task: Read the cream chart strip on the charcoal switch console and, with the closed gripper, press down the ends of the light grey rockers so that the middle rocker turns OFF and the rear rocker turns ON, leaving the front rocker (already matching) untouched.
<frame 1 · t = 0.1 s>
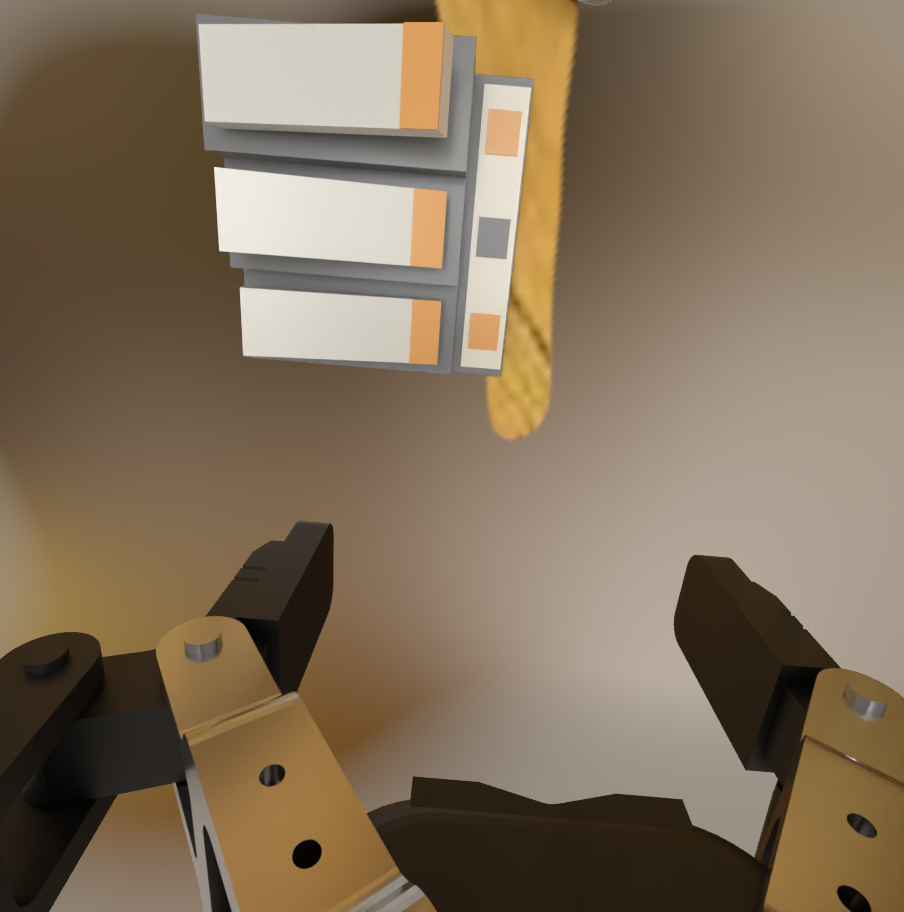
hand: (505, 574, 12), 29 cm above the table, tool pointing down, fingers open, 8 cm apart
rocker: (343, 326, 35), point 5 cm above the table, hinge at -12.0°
middle rocker: (335, 221, 30), point 7 cm above the table, hinge at -12.0°
switch console: (359, 227, 37), on the table
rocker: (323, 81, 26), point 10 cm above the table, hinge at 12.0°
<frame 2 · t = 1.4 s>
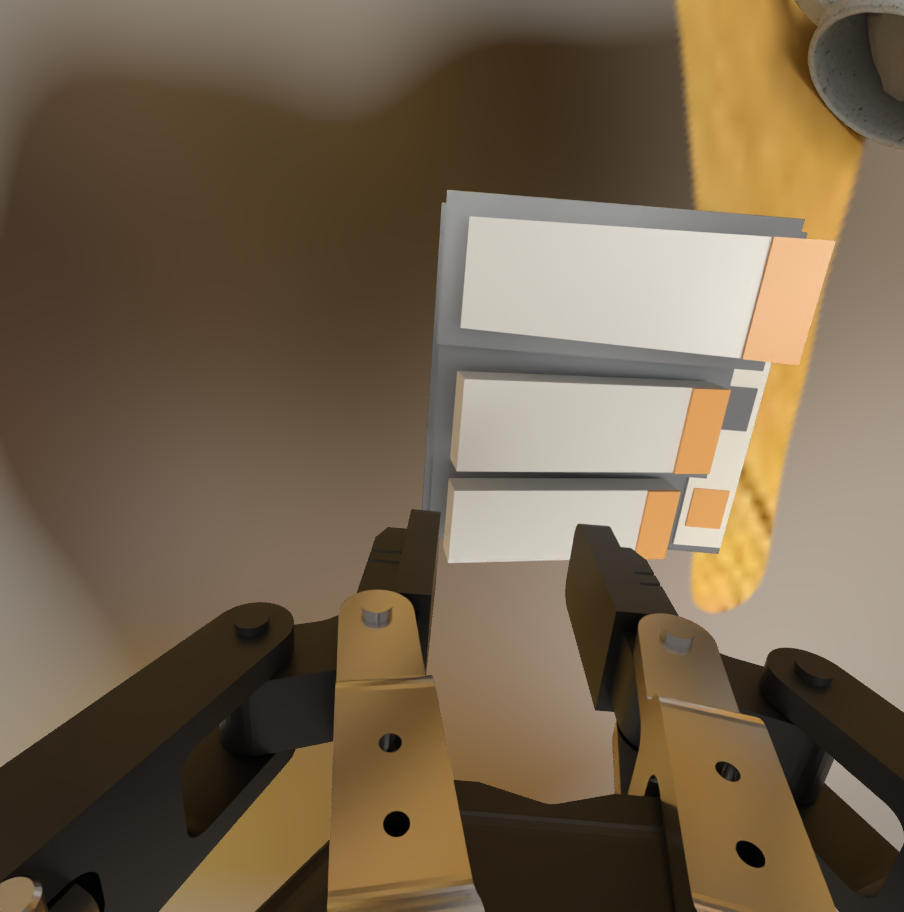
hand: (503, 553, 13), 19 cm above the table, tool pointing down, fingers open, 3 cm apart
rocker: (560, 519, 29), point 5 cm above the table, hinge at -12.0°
middle rocker: (588, 424, 25), point 7 cm above the table, hinge at -12.0°
switch console: (563, 388, 31), on the table
ceramic mug: (872, 19, 25), on the table
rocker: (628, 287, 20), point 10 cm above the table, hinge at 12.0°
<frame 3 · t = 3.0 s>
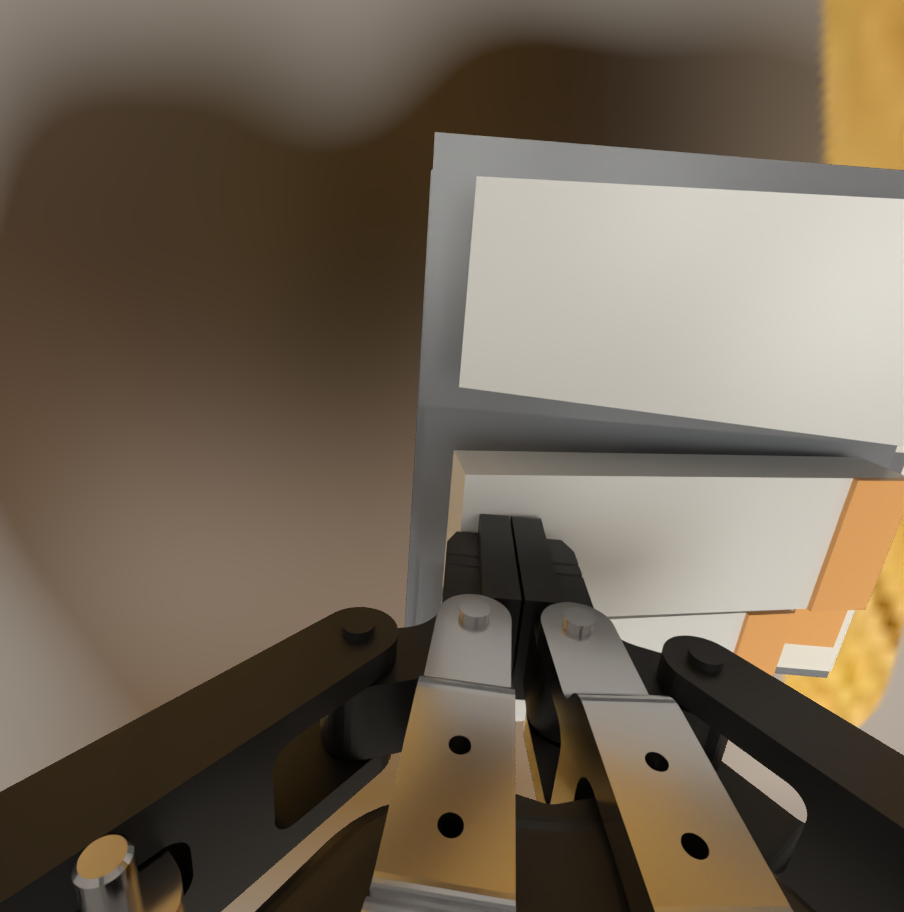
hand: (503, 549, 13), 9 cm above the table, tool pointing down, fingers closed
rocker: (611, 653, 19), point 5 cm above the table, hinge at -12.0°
middle rocker: (672, 535, 15), point 7 cm above the table, hinge at -11.4°, touching gripper
switch console: (610, 447, 21), on the table
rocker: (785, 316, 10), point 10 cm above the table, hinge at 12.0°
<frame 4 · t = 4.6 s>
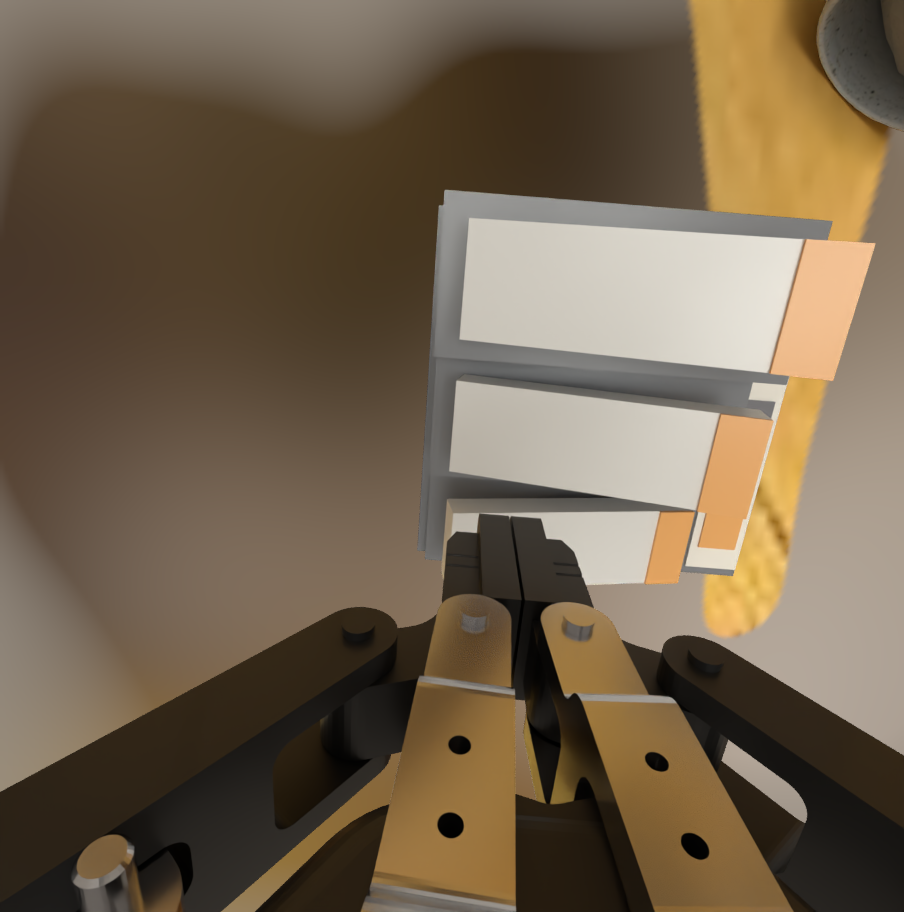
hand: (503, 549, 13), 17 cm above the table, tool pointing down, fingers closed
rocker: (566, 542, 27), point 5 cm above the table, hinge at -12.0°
middle rocker: (597, 442, 23), point 7 cm above the table, hinge at 12.0°
switch console: (568, 402, 29), on the table
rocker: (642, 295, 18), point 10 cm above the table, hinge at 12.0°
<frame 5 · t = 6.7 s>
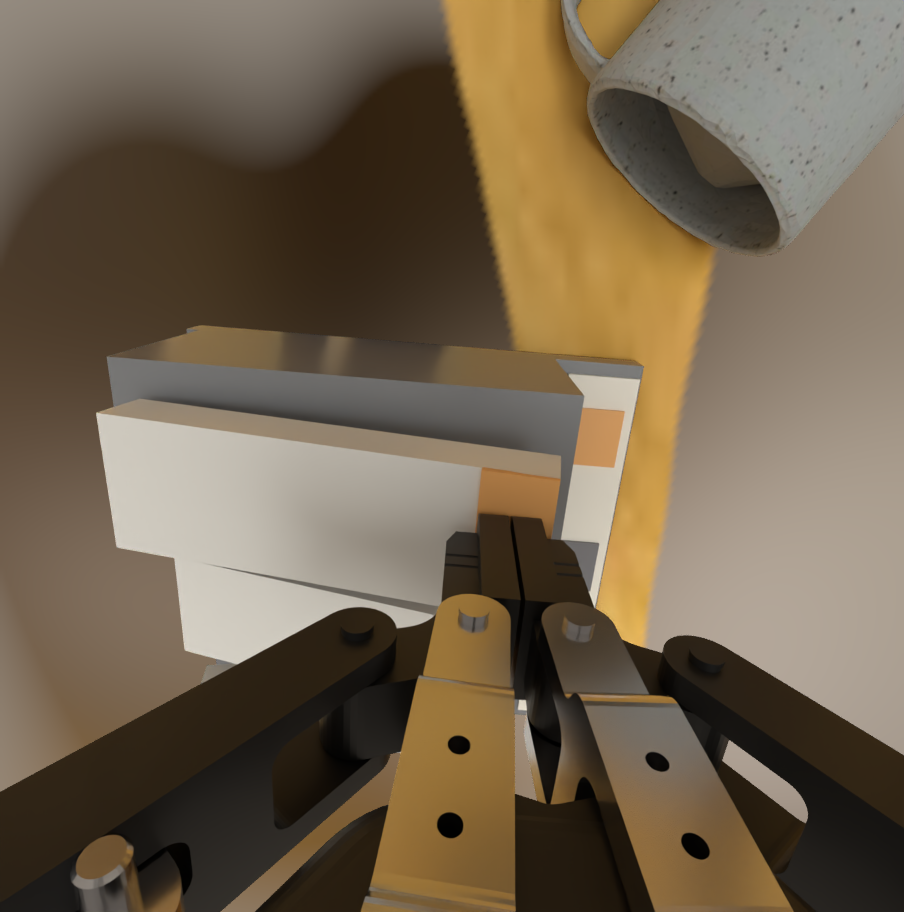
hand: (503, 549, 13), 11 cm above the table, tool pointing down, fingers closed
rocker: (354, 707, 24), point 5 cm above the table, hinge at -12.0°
middle rocker: (342, 629, 19), point 7 cm above the table, hinge at 12.6°
switch console: (375, 533, 26), on the table
ceramic mug: (685, 79, 20), on the table
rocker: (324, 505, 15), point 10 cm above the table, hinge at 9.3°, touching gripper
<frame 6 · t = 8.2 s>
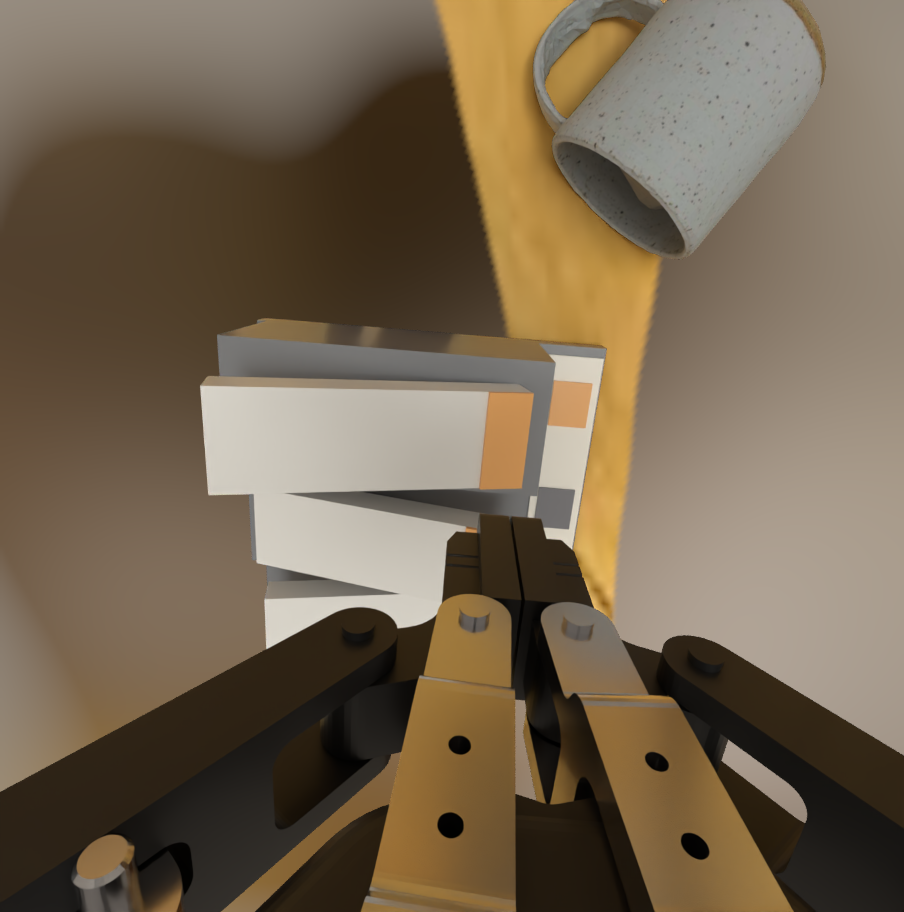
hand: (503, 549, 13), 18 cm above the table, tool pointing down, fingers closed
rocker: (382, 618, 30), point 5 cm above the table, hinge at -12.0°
middle rocker: (378, 542, 26), point 7 cm above the table, hinge at 12.6°
switch console: (397, 485, 32), on the table
ceramic mug: (628, 129, 26), on the table
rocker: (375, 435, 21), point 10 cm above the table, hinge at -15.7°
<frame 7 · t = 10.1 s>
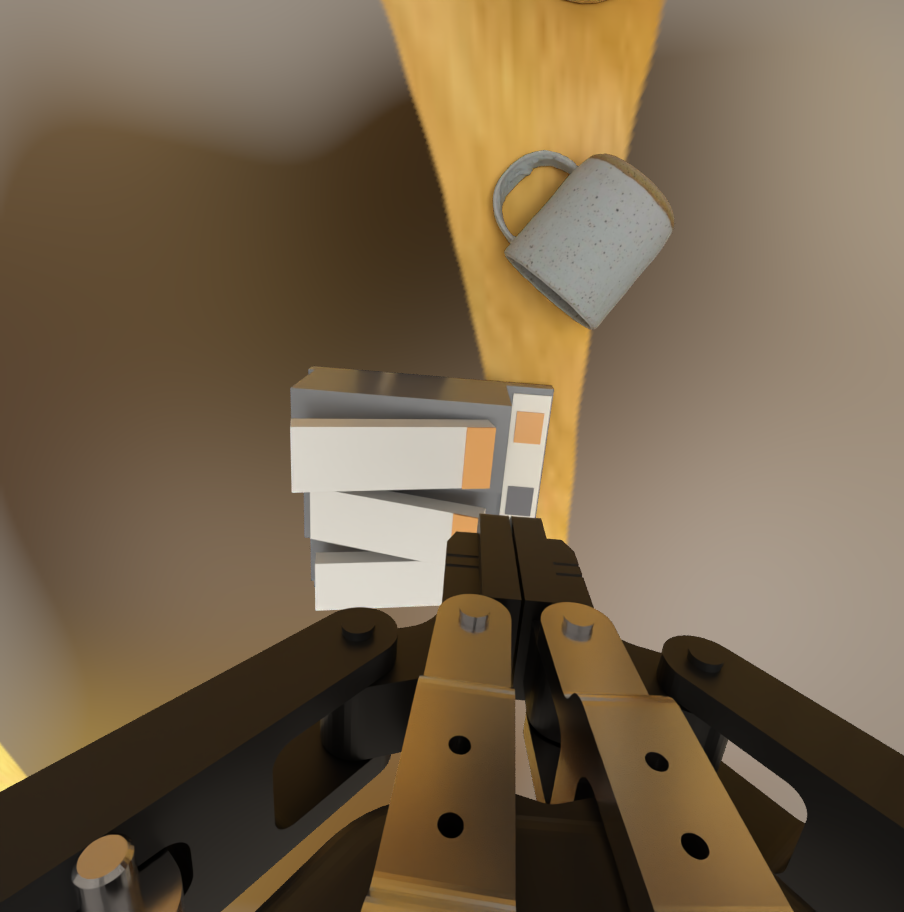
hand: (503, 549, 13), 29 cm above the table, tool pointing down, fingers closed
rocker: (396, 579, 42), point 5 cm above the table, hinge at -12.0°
middle rocker: (394, 524, 38), point 7 cm above the table, hinge at 12.6°
switch console: (406, 484, 44), on the table
ceramic mug: (560, 235, 38), on the table
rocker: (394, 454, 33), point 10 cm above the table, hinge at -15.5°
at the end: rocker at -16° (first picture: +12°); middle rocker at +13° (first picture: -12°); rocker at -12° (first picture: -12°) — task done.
